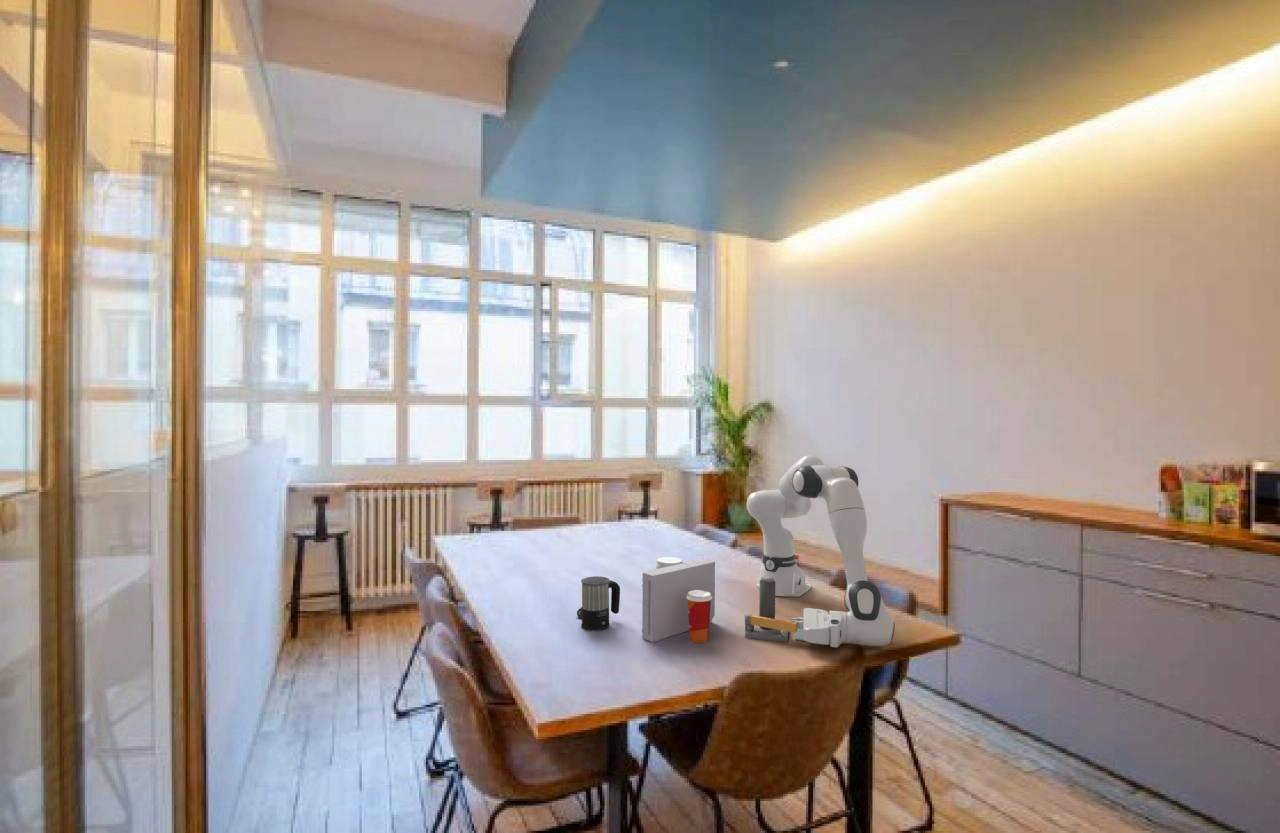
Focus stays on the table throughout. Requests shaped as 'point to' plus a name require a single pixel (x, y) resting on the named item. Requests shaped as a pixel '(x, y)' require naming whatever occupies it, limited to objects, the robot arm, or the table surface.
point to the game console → (673, 597)
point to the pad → (799, 635)
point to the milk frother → (598, 602)
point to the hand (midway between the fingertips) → (787, 621)
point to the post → (748, 627)
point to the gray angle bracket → (767, 636)
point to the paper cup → (699, 615)
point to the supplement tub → (667, 562)
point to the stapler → (771, 623)
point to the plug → (767, 603)
